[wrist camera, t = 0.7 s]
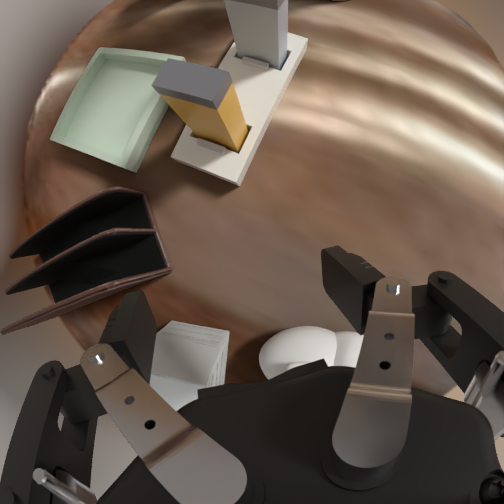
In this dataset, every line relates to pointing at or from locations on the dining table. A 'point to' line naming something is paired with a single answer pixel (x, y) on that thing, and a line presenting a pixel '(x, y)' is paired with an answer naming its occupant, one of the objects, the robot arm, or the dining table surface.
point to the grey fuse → (260, 29)
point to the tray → (115, 107)
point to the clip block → (253, 108)
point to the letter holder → (92, 252)
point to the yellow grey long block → (204, 102)
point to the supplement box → (187, 361)
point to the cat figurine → (308, 349)
